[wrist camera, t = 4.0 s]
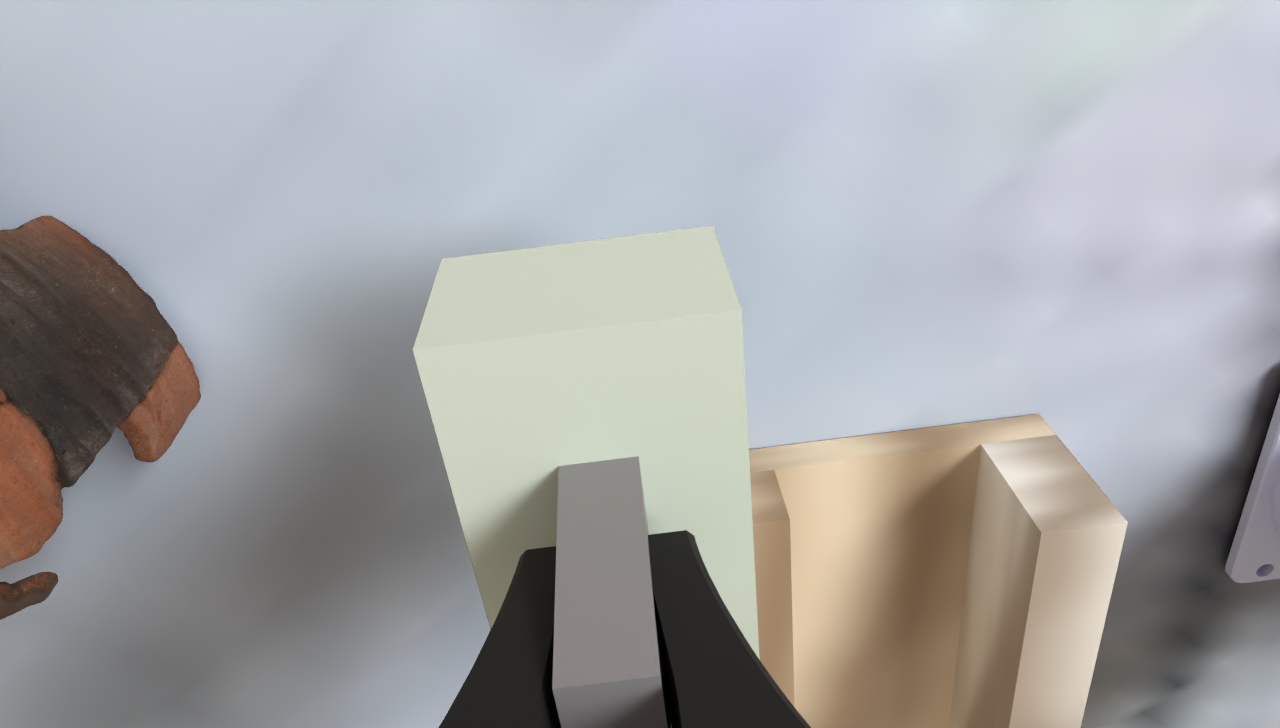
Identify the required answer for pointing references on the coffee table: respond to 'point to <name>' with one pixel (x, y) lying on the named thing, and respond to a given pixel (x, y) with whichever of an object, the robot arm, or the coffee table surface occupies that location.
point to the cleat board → (933, 576)
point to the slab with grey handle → (596, 442)
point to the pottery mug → (74, 382)
